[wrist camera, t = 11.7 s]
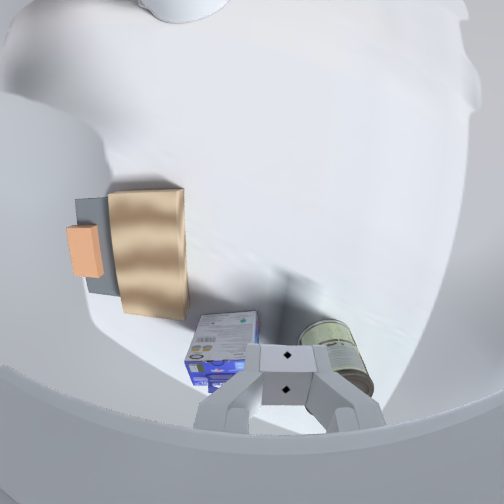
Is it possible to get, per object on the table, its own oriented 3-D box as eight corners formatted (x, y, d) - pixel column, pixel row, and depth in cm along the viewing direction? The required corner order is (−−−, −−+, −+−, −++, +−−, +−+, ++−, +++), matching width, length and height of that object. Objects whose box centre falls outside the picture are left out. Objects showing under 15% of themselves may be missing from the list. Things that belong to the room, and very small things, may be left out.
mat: (76, 199, 40) (75, 199, 40) (120, 196, 40) (120, 197, 39) (89, 291, 46) (89, 292, 46) (132, 297, 46) (131, 298, 45)
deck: (120, 190, 39) (107, 194, 36) (184, 188, 39) (175, 191, 35) (133, 302, 46) (123, 313, 42) (190, 308, 45) (183, 320, 42)
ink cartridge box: (206, 339, 48) (188, 397, 34) (199, 314, 46) (176, 370, 32) (261, 336, 47) (258, 397, 33) (257, 309, 45) (252, 369, 31)
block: (90, 227, 39) (97, 225, 41) (66, 228, 40) (72, 225, 41) (98, 278, 42) (104, 273, 44) (74, 275, 42) (80, 271, 44)
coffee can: (361, 341, 46) (385, 394, 33) (318, 370, 49) (329, 426, 35) (332, 307, 44) (353, 362, 31) (285, 341, 47) (289, 400, 33)
